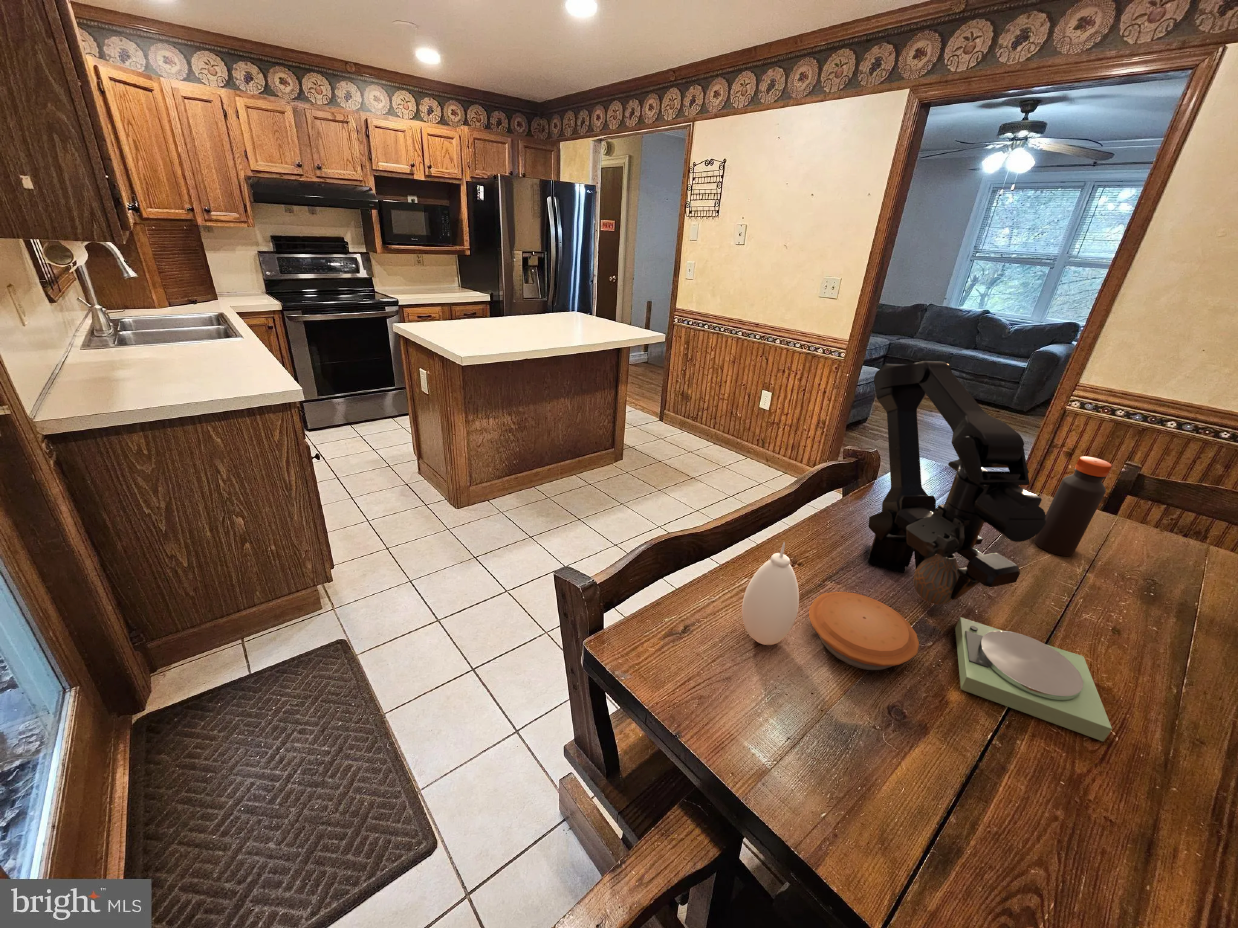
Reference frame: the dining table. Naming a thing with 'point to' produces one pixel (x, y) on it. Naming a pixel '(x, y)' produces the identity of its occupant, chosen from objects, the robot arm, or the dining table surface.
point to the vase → (936, 578)
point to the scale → (985, 682)
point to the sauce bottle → (771, 600)
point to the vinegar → (1073, 507)
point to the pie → (862, 630)
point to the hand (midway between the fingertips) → (935, 584)
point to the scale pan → (1031, 665)
